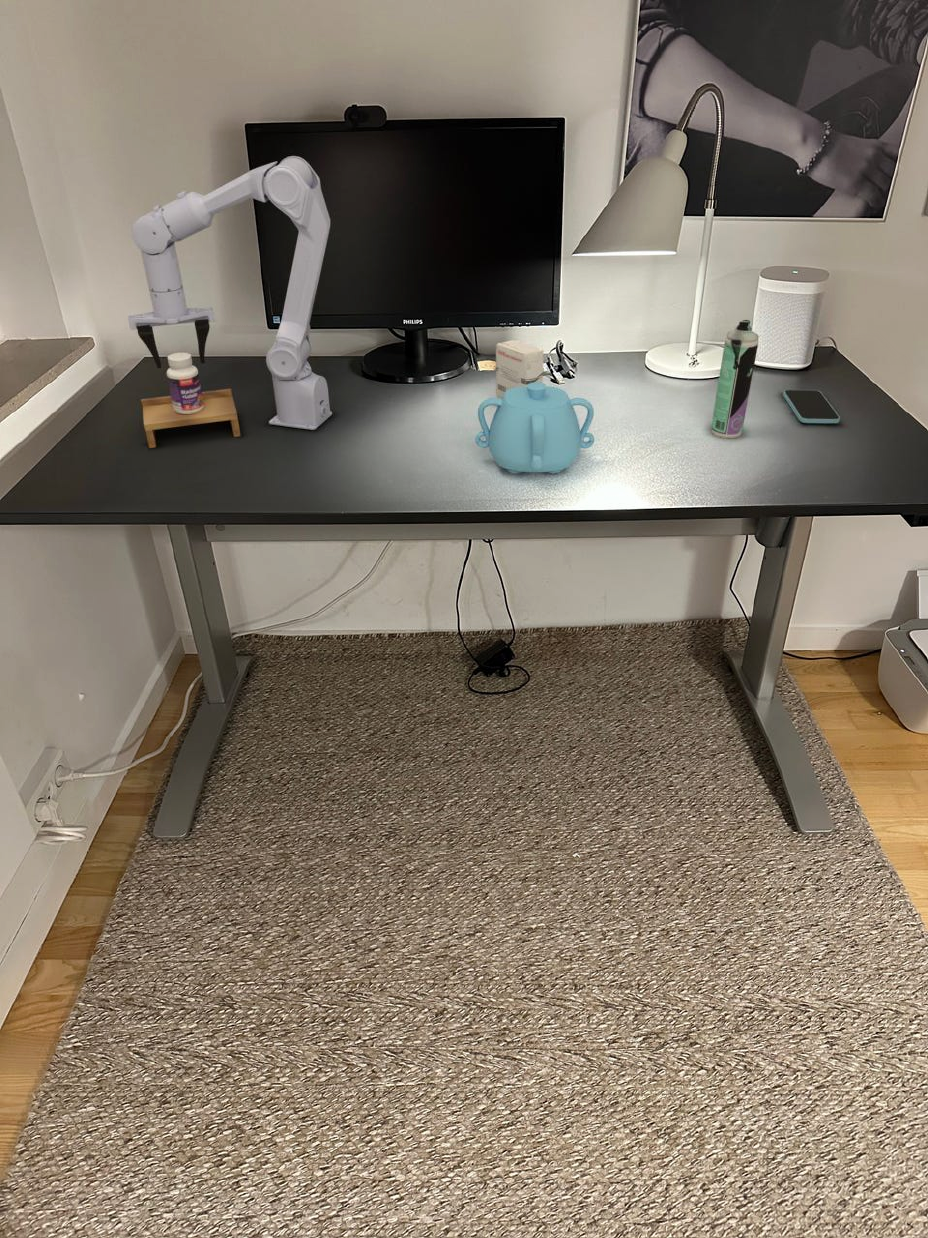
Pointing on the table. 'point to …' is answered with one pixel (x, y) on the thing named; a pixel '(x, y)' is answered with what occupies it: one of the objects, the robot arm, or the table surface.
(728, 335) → the spray can
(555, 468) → the decorative pot
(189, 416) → the desk shelf
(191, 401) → the pill bottle
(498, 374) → the ink box
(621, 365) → the table surface
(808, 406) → the smartphone
